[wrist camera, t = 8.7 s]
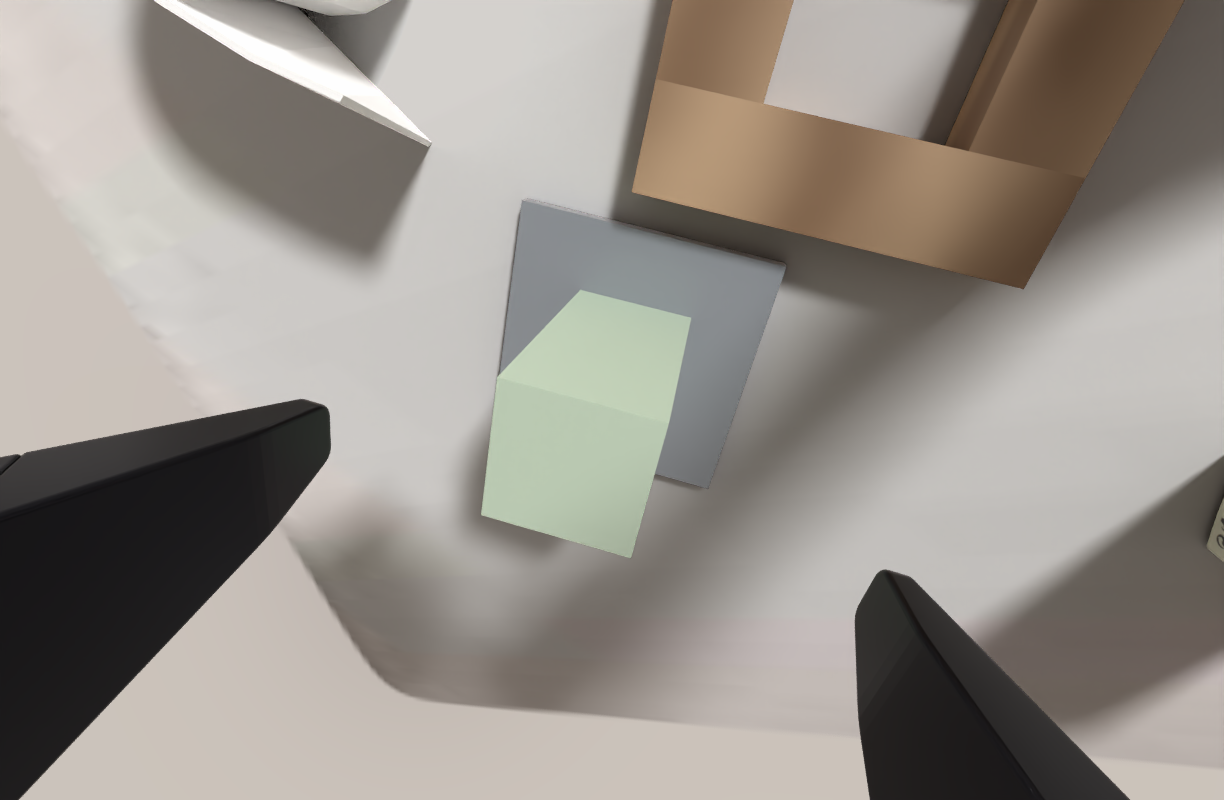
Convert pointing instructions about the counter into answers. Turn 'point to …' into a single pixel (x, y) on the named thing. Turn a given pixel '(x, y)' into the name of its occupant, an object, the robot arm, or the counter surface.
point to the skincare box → (1217, 535)
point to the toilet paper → (297, 49)
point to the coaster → (661, 279)
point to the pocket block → (892, 164)
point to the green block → (585, 422)
